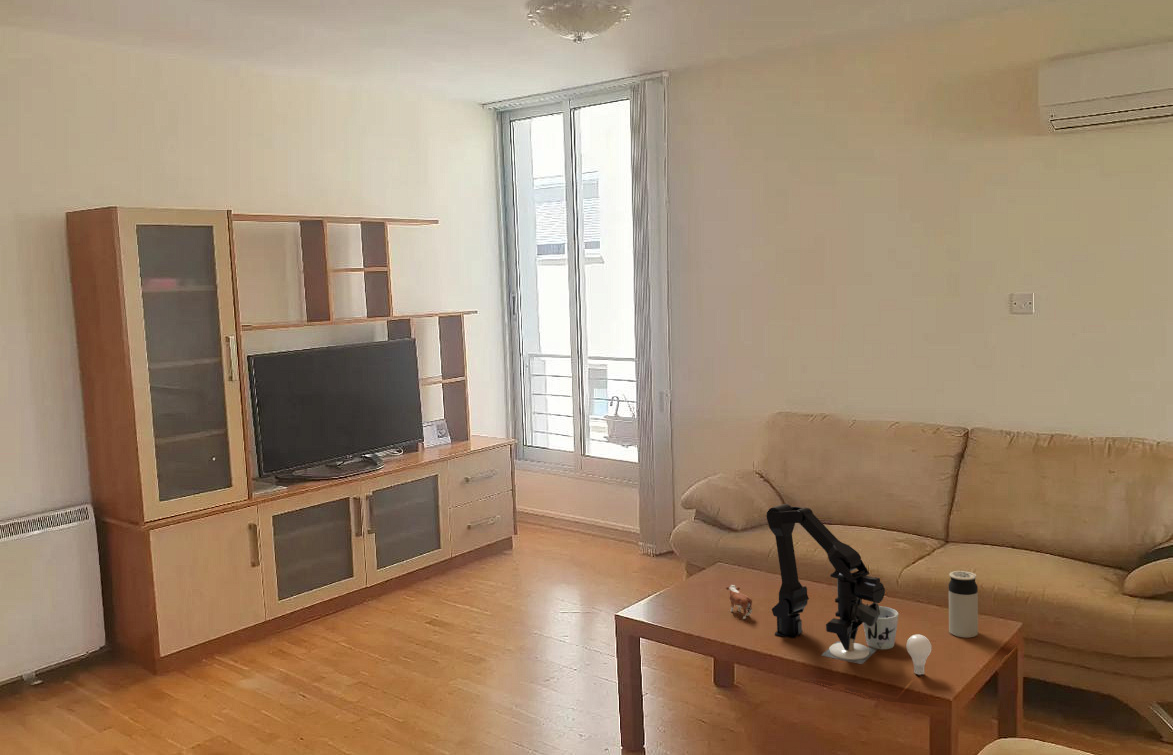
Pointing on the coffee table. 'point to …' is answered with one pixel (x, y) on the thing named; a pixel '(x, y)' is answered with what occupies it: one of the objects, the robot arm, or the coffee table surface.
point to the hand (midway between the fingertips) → (849, 647)
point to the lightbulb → (918, 651)
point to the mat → (861, 661)
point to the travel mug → (963, 604)
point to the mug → (882, 629)
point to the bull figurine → (740, 600)
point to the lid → (849, 651)
